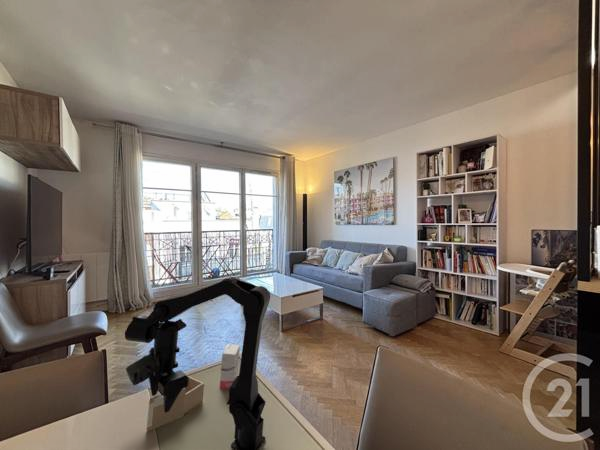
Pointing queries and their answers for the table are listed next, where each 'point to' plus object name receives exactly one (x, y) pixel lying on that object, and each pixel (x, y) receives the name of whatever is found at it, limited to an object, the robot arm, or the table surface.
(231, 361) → the ink box
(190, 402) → the carton
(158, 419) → the end flap
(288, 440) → the table surface
